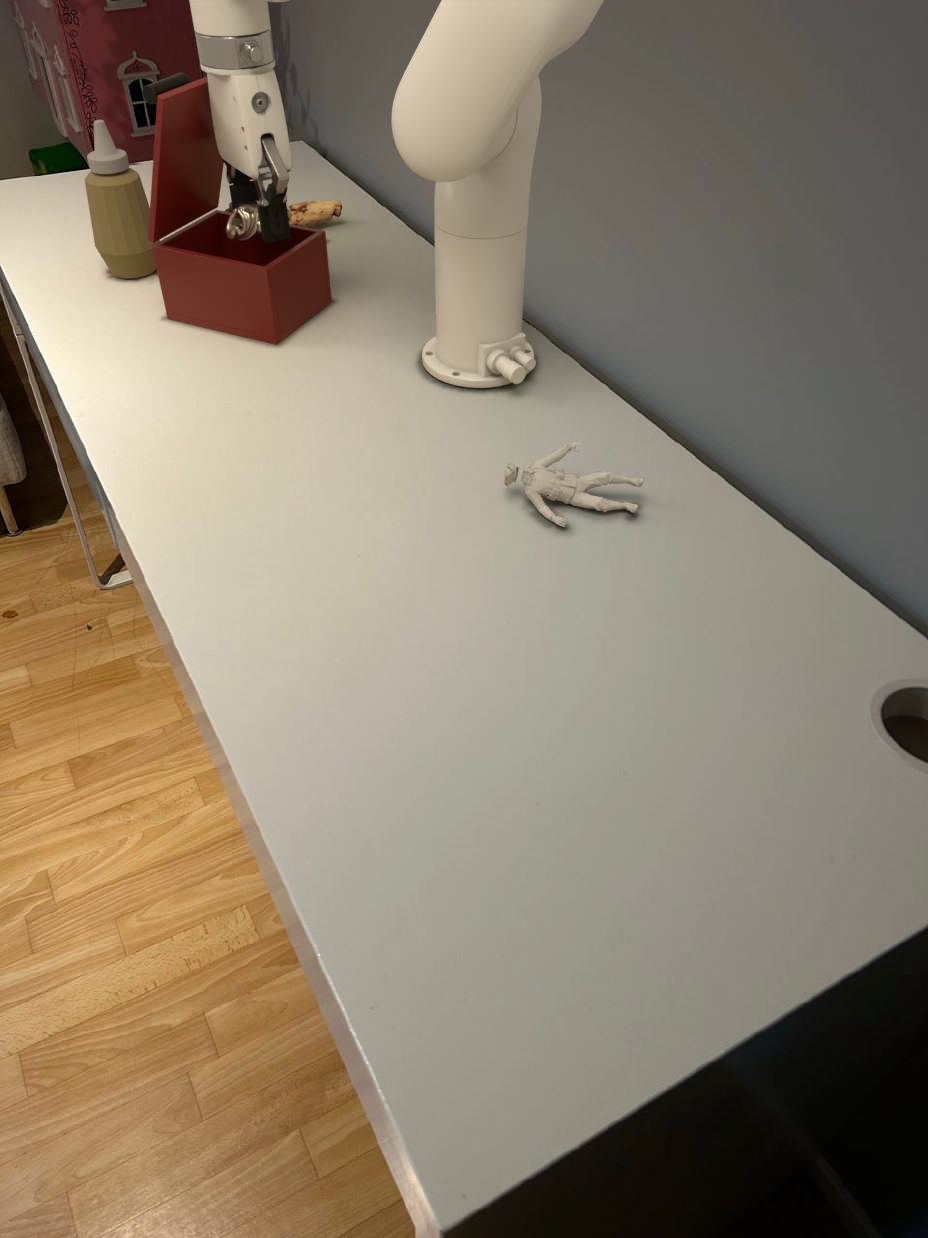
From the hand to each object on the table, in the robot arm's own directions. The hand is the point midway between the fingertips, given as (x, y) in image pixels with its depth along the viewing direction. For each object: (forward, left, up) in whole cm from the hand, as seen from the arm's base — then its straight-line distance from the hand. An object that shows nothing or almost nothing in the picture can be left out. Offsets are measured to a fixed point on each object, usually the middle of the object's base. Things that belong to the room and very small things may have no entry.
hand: (262, 227), depth 107 cm
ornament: (0, 0, -1) cm, 1 cm away
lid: (+7, +4, +6) cm, 10 cm away
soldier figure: (-50, -6, -11) cm, 52 cm away
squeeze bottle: (+22, +10, -11) cm, 26 cm away
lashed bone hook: (+22, -12, -11) cm, 27 cm away
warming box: (+3, +2, -11) cm, 11 cm away
